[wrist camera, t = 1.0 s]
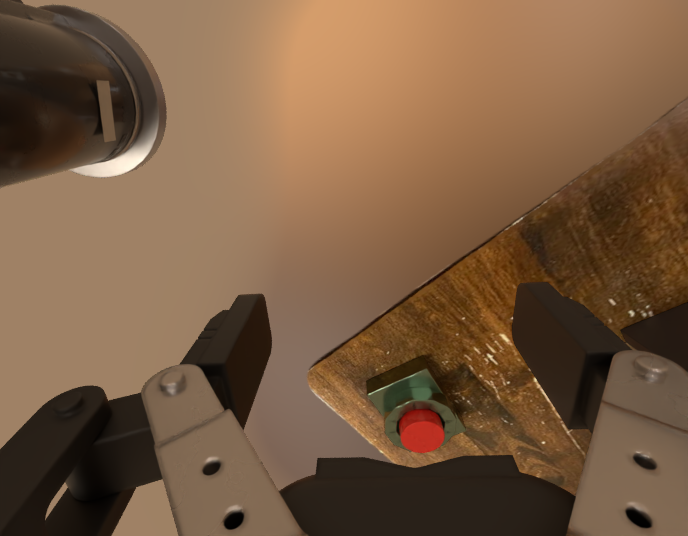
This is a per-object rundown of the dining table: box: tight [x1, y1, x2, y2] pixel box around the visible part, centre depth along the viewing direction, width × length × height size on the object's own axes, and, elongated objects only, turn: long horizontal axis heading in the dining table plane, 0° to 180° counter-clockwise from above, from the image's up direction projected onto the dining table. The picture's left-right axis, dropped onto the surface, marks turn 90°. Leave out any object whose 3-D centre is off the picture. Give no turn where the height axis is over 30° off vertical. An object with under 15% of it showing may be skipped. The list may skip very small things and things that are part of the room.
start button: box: [399, 409, 445, 453], centre depth 38 cm, size 4×4×2 cm
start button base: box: [366, 356, 466, 452], centre depth 40 cm, size 10×7×4 cm
